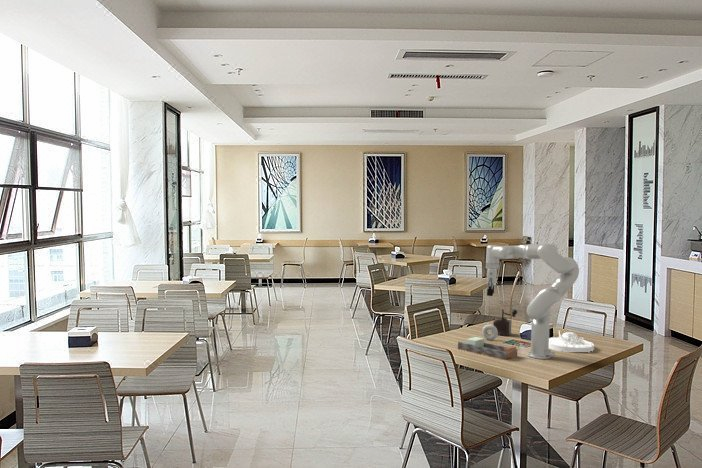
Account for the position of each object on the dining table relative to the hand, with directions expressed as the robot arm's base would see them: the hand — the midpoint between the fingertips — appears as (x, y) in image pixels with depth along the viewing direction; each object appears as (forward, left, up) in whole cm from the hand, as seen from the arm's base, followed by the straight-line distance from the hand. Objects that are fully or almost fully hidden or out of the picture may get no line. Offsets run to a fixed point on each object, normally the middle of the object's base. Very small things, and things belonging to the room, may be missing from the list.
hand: (490, 294), depth 330 cm
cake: (-30, -40, -33) cm, 60 cm away
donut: (+12, -19, -32) cm, 39 cm away
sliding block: (+2, +11, -30) cm, 32 cm away
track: (-6, +11, -32) cm, 34 cm away
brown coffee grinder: (+14, -41, -32) cm, 54 cm away
